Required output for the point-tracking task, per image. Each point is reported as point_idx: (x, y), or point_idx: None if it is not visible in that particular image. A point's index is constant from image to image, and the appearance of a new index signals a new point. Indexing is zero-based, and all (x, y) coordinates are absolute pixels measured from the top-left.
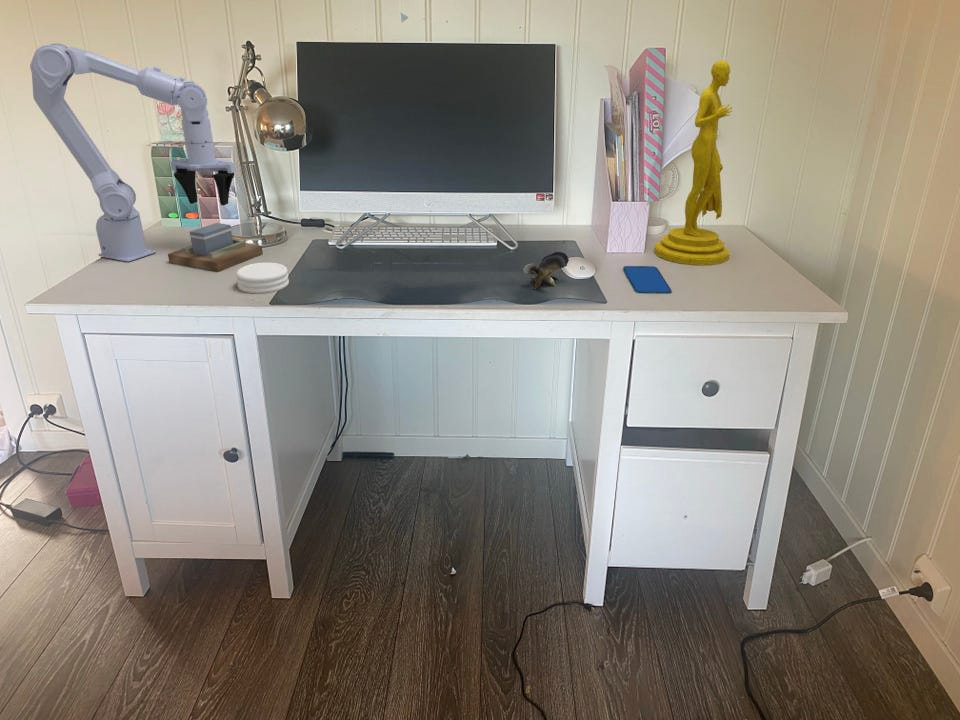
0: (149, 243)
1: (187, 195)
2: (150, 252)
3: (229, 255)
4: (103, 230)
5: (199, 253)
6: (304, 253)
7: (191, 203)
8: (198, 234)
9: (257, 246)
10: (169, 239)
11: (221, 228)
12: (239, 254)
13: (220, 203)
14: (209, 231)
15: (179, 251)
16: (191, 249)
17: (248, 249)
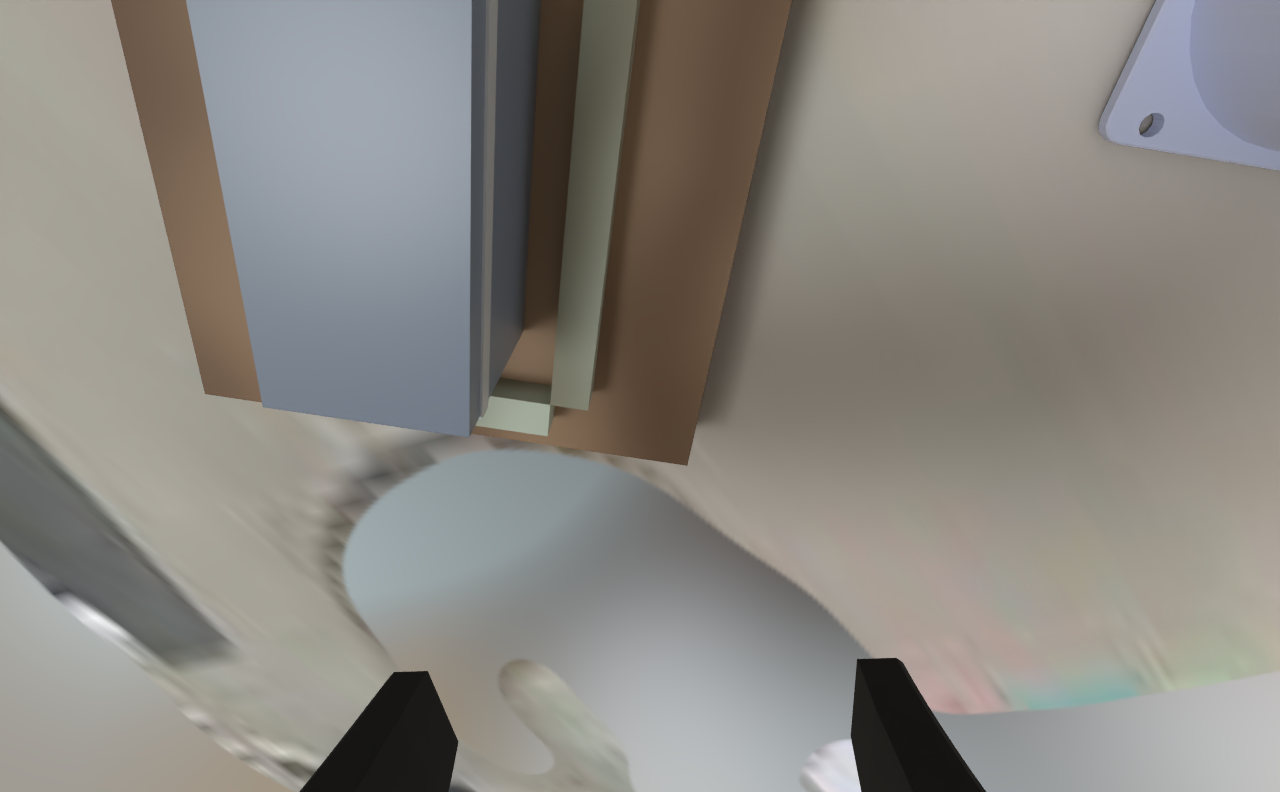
0: (1266, 355)
1: (947, 767)
2: (1141, 58)
3: (179, 52)
4: None
5: None
6: (37, 445)
7: (873, 660)
8: None
9: (211, 365)
10: (1127, 474)
11: (240, 268)
12: (141, 125)
13: (416, 690)
14: (215, 59)
15: (748, 2)
16: (584, 6)
17: (199, 276)
